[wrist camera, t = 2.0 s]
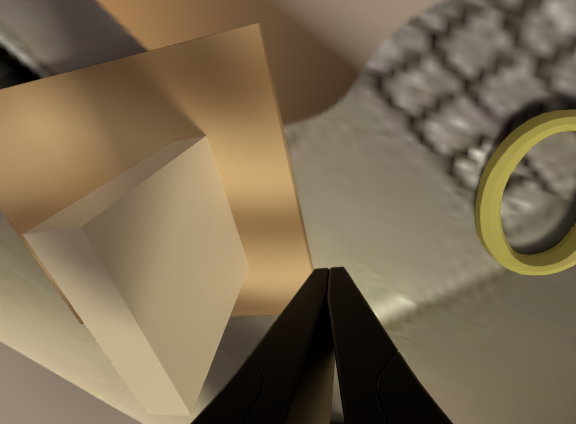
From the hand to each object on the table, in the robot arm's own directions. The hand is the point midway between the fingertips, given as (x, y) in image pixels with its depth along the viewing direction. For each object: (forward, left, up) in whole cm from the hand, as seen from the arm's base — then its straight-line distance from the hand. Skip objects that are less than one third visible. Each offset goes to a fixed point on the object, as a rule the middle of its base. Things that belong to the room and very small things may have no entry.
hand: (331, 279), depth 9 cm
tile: (0, +6, -6) cm, 8 cm away
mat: (0, +10, -6) cm, 12 cm away
